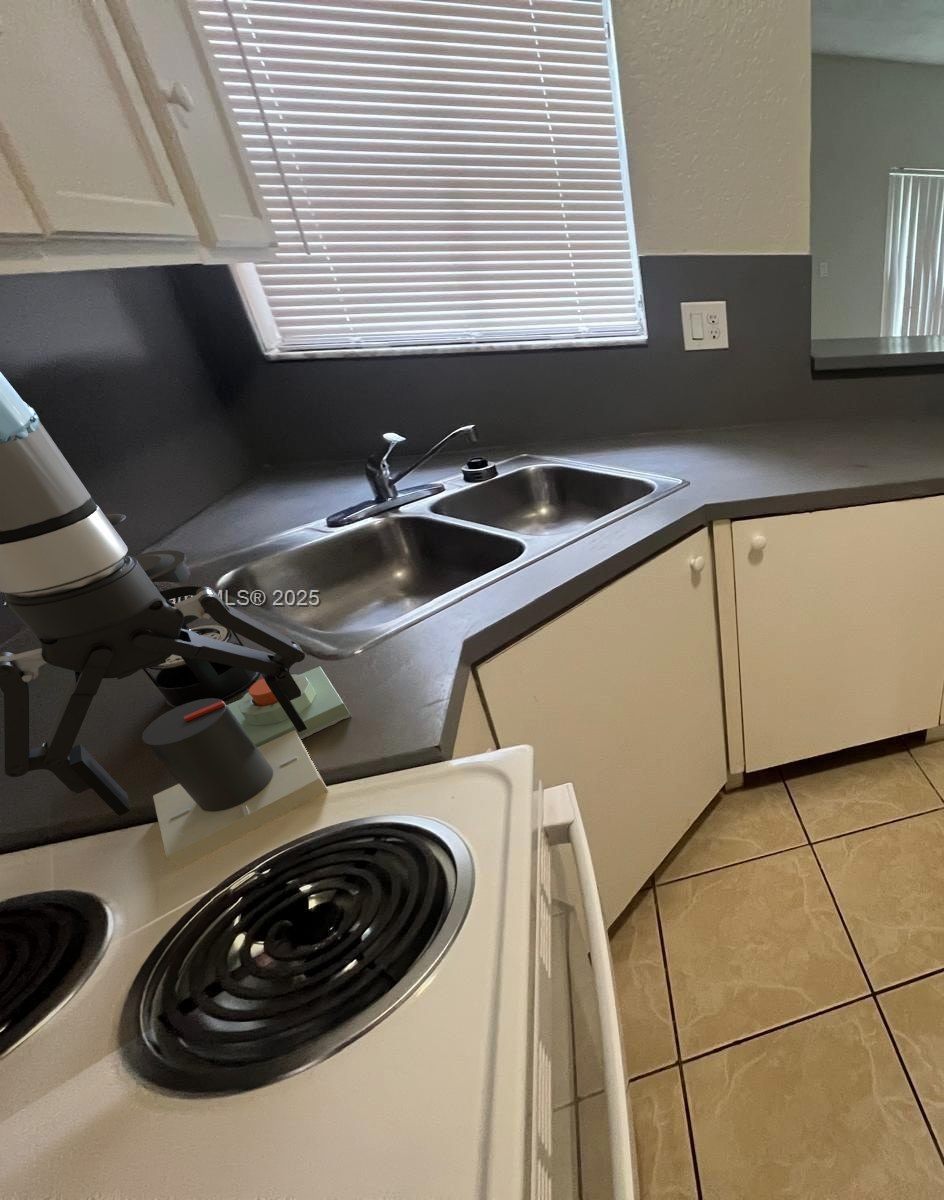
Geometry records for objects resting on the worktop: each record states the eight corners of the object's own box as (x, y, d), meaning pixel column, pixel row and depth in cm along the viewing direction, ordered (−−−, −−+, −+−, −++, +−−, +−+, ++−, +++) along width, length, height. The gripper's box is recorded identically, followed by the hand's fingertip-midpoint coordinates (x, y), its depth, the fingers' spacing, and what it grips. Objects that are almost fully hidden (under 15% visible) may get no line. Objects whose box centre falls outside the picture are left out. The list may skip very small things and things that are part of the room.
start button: (253, 696, 71) (245, 685, 70) (290, 681, 73) (283, 669, 72) (260, 711, 69) (252, 699, 68) (298, 695, 71) (291, 683, 70)
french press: (272, 683, 78) (164, 517, 66) (177, 725, 73) (38, 552, 60) (247, 647, 85) (144, 490, 72) (158, 683, 79) (28, 519, 66)
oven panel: (164, 808, 63) (151, 793, 62) (303, 742, 70) (293, 728, 69) (178, 871, 57) (164, 856, 56) (329, 791, 64) (319, 777, 63)
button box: (230, 721, 73) (211, 695, 71) (327, 679, 79) (313, 654, 77) (248, 766, 67) (228, 739, 65) (351, 716, 73) (336, 691, 71)
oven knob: (203, 822, 59) (143, 753, 53) (193, 788, 62) (136, 720, 57) (279, 784, 62) (229, 716, 57) (265, 754, 66) (217, 687, 61)
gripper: (252, 506, 58) (350, 680, 70) (-183, 625, 43) (33, 820, 55) (271, 530, 54) (371, 712, 65) (-207, 671, 39) (34, 873, 51)
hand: (217, 762), depth 60 cm, fingers open, 13 cm apart
